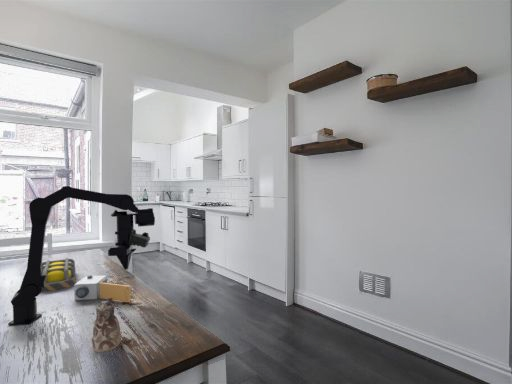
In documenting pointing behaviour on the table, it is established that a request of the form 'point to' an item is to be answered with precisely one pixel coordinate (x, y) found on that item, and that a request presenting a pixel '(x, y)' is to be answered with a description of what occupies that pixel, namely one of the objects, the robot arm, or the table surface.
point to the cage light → (59, 274)
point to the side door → (113, 291)
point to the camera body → (88, 287)
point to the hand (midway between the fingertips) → (126, 269)
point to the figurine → (106, 328)
